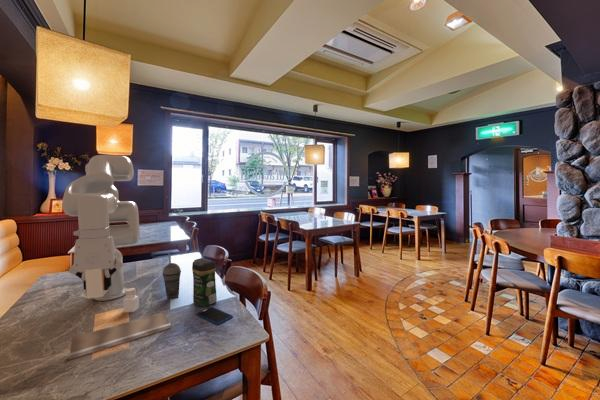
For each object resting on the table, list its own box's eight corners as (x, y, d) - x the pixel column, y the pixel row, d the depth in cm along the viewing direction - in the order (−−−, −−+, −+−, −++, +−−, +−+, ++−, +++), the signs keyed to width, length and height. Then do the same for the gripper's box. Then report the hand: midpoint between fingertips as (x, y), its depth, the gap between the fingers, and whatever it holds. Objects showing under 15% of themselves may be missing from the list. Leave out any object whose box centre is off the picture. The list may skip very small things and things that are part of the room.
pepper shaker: (129, 310, 103) (128, 287, 102) (139, 310, 103) (138, 287, 102) (123, 316, 99) (121, 291, 98) (134, 315, 99) (133, 291, 98)
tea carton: (86, 298, 79) (85, 270, 79) (93, 291, 85) (92, 264, 84) (103, 296, 81) (101, 268, 80) (108, 289, 86) (107, 262, 86)
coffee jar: (190, 302, 109) (188, 259, 108) (206, 296, 116) (205, 255, 114) (203, 309, 103) (201, 263, 102) (219, 302, 110) (218, 259, 109)
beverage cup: (174, 302, 109) (172, 256, 108) (159, 301, 111) (157, 255, 109) (185, 295, 116) (183, 251, 115) (171, 294, 118) (169, 251, 117)
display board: (69, 364, 72) (68, 356, 72) (73, 341, 82) (72, 334, 82) (171, 331, 88) (171, 324, 88) (163, 316, 98) (163, 309, 98)
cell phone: (211, 307, 105) (211, 306, 105) (234, 318, 97) (234, 316, 97) (194, 315, 99) (194, 313, 99) (217, 326, 91) (217, 324, 91)
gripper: (54, 238, 75) (59, 299, 76) (123, 233, 81) (126, 290, 83) (66, 233, 82) (70, 289, 83) (128, 229, 88) (131, 281, 90)
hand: (98, 289), depth 83 cm, fingers closed on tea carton, 4 cm apart
